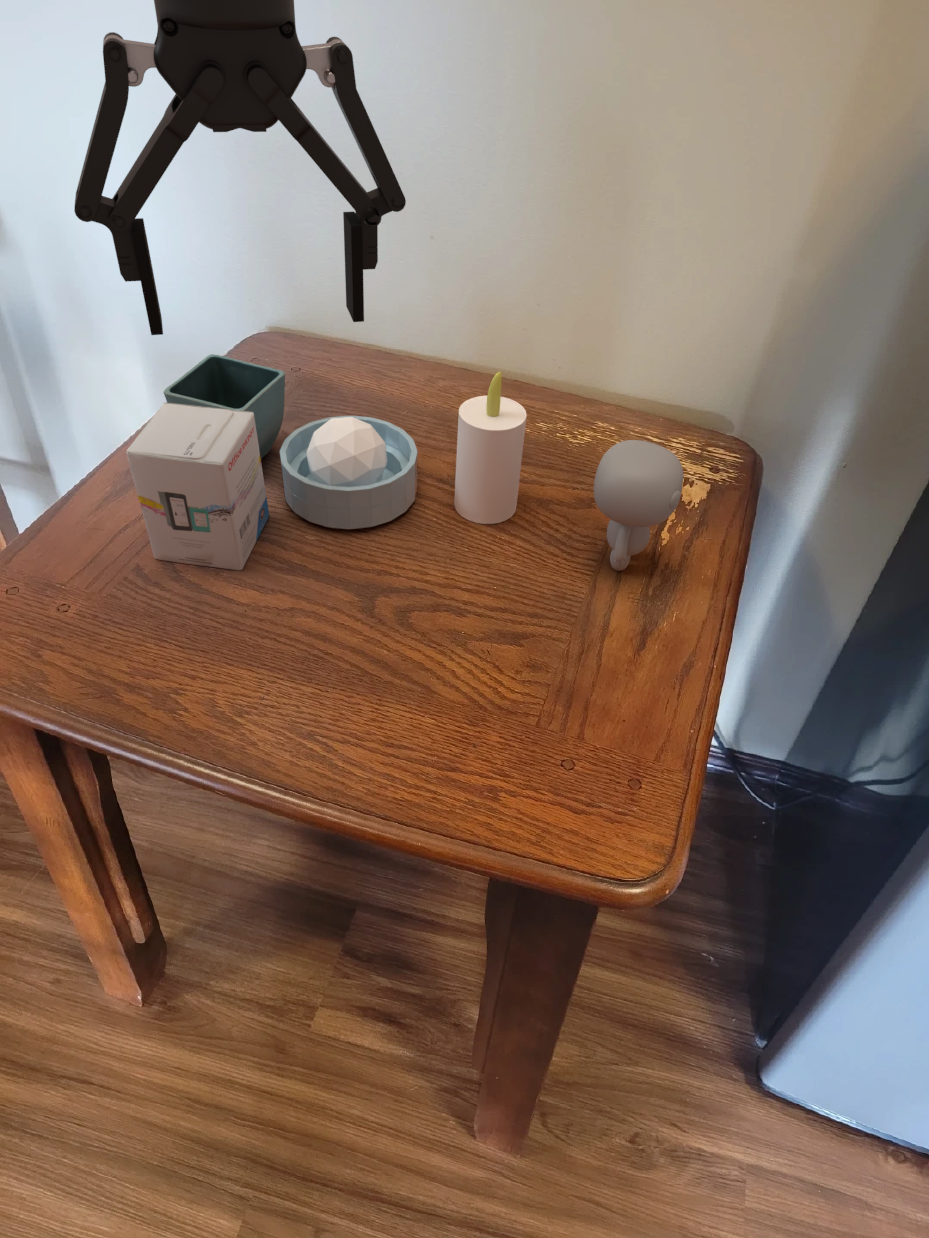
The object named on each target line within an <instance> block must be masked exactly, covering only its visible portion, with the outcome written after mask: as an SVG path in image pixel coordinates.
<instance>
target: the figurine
mask: <svg viewBox="0 0 929 1238" xmlns="http://www.w3.org/2000/svg"><path fill="white" fill-rule="evenodd" d="M684 475H685V474H684V469H683V464H682V463H681V461H680V458H678V456H677V455H676V454H675V453H674V452H672V451H671V450H669V449H667V448H666V447H664V446H662V445H659V444H657V443H654V442H652V441H651V442H650V441H646V440H641V439H627V440H623V441H619V442H617V443H615V444H613V445H612V446H611V447H610V448H609V449H607V450H606V451H605V453H604V454H603V456H602V458H601V459H600V461H599V464H598V465H597V468H596V471H595V476H594V480H593V499H594V502H595V505H596V507H597V508H598V510H599V511H600V512H601V513H602V515H604V516H605V517H606V518H608V519H609V522H608V524H607V528H606V540H607V543H608V545H609V547H610V548H611V551H610V554H609V555H610V556H609V561H610V565H611V568H612V569H613V570H614V571H618V572H621V571H624V570H625V569H626V568H628V566H629V563H630V561H631V556H634V555H638V554H640V553H641V552H643V551H644V550H645V549H646V548H647V546H648V545H649V542H650V539H651V529H650V527H655V526H657V525H660V524H662V523H663V522H665V521H666V520H668V519H669V518H670V517H671V516H672V514H673V513H674V512H675V511H676V509H677V508H678V505H679V503H680V499H681V497H682V492H683V484H684Z"/></svg>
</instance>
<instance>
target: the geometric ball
mask: <svg viewBox="0 0 929 1238" xmlns="http://www.w3.org/2000/svg"><path fill="white" fill-rule="evenodd" d="M306 455H307V460H308V465H309V470H310V473H311V474H312V476H313V477H314V478H315V480H316V481H317V482H318V483H321V484H324V485H329V486H341V487H355V486H365V485H371V484H374V483H377V482H381V479H382V476H383V473H384V470H385V467H386V464H387V462H388V461H387V453H386V445H385V442H384V441H383V439H382V438H381V437H380V435H379V434H378V433H377V432H376V430H375V429H374V428H373V427H372V425H370V424H368V423H366V422H363V421H361V420H358V419H356V418H353V417H344V418H331V419H330V420H329V421H327V422H326V423H325V424H324V425H322V426H321V427H320V428H318V429H317V430H316V431H315V432H314V433H313V436H312V438H311V441H310V444H309V447H308V450H307V453H306Z"/></svg>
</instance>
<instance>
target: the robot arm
mask: <svg viewBox="0 0 929 1238" xmlns="http://www.w3.org/2000/svg"><path fill="white" fill-rule="evenodd" d="M153 3H154V10H155V17H156V23H157V24H156V25H157V33H156V37H155V40H154V42H153V43H150V42H144V41H137V40H129V39H124V38H123V36H121V35H120V34H119V33H118V32H115V31H110V32H107V33H106V34H105V35H104V37H103V42H102V56H103V57H102V58H103V68H104V70H103V71H104V80H105V81H104V85H103V87H102V92H101V96H100V100H99V103H98V107H97V111H96V115H95V119H94V123H93V127H92V130H91V134H90V138H89V142H88V146H87V150H86V153H85V157H84V160H83V164H82V168H81V172H80V177H79V180H78V183H77V187H76V192H75V198H74V214H75V216H76V218H77V219H79V220H80V221H81V222H85V223H89V222H90V223H91V222H93V223H97V224H100V225H103V226H105V227H106V228H107V229H108V230H109V231H110V233H111V236H112V241H113V245H114V250H115V255H116V259H117V264H118V269H119V273H120V276H121V278H123V280H124V282H126V283H127V282H140V285H141V290H142V294H143V300H144V305H145V311H146V315H147V320H148V325H149V330H150V335H151V336H161V335H164V330H163V327H164V326H163V318H162V313H161V307H160V301H159V297H158V296H159V295H158V290H157V285H156V279H155V274H154V269H153V264H152V257H151V253H150V248H149V242H148V237H147V236H148V235H147V232H146V226H145V220H144V218H143V217H140V218H139V217H138V218H137V216H138V215H139V214H140V211H141V210H142V208H143V207H144V205H145V204H146V202H147V201H148V199H149V197H150V196H151V194H152V193H153V191H154V190H155V188H156V186H157V185H158V183H159V182H160V180H161V179H162V177H163V175H164V174H165V173H166V171H167V169H168V168H169V166H170V165H171V164H172V161H173V160H174V158H175V157H176V156H177V154H178V152H179V151H180V149H181V148H182V146H183V145H184V143H185V142H187V141H188V140H189V138H190V137H191V135H192V133H193V132H194V130H195V129H196V127H198V124H200V125H202V126H203V127H205V128H207V129H209V130H212V132H213V133H229V132H232V131H235V130H238V129H241V130H246V131H249V132H253V133H267V129H270V128H272V127H273V126H275V125H276V124H277V123H278V122H280V124H281V125H282V126H283V127H284V128H285V130H287V132H288V133H289V134H290V135H291V137H292V138H293V139H294V140H295V141H296V142H297V143H298V144H299V145H300V147H301V148H302V149H303V150H304V151H305V152H306V154H307V155H308V156H309V157H310V158H311V160H312V161H313V162H314V163H315V164H316V165H317V167H318V168H319V169H320V171H322V173H323V174H324V175H325V177H326V178H327V179H328V180H329V181H330V182H331V184H332V185H333V186H334V187H335V189H336V190H337V191H338V192H339V193H340V194H341V195H342V197H343V198H344V199H345V200H346V202H347V203H348V204H349V205H350V206H351V207H352V209H353V210H354V211H343V212H342V215H343V238H344V239H343V244H344V245H343V248H344V249H343V250H344V275H345V276H344V279H345V305H346V306H345V307H346V309H347V311H348V313H349V315H350V317H351V320H352V322H353V323H361V322H362V323H363V322H365V300H364V299H365V298H364V296H365V295H364V293H365V292H364V270H376V267H377V265H378V262H379V253H378V252H379V251H378V250H379V249H378V248H379V247H378V246H379V244H378V243H379V242H378V240H379V239H378V235H379V234H378V233H379V230H378V227H379V225H380V223H381V222H382V218H383V216H385V215H386V214H389V213H391V212H396V213H399V212H401V211H402V210H404V209H405V206H406V201H407V200H406V197H405V194H404V192H403V190H402V187H401V185H400V183H399V181H398V178H397V176H396V174H395V172H394V170H393V167H392V165H391V163H390V161H389V159H388V157H387V154H386V152H385V149H384V148H383V145H382V142H381V141H380V138H379V136H378V134H377V132H376V130H375V127H374V125H373V122H372V121H371V119H370V116H369V114H368V112H367V109H366V107H365V104H364V102H363V100H362V98H361V96H360V93H359V92H358V89H357V83H356V74H355V65H354V58H353V53H352V50H351V49H350V47H349V46H348V45H347V44H346V43H345V42H344V41H343V39H341V38H340V37H338V36H331V37H329V38H328V39H327V40H326V41H325V43H318V44H309V45H301V41H300V39H299V37H298V32H297V27H296V13H295V0H153ZM151 68H152V69H156V70H157V72H158V74H159V75H160V76H161V77H162V79H163V80H164V82H166V84H167V85H168V86H169V87H170V89H171V90H172V91H173V92H174V96H173V97H172V99H171V101H170V102H169V103H168V105H167V107H166V109H165V111H164V113H163V116H162V117H161V119H160V121H159V123H158V125H156V128H154V131H153V132H152V133H151V135H150V137H149V139H148V140H147V142H146V143H145V145H144V146H143V148H142V150H141V151H140V153H139V155H138V156H137V158H136V160H134V163H133V164H132V166H131V168H130V169H129V171H128V172H127V174H126V176H125V177H124V179H123V181H122V182H121V183H120V185H119V187H118V189H117V190H116V192H115V193H114V195H113V196H112V198H111V197H108V196H104V195H103V192H104V189H105V185H106V182H107V178H108V174H109V171H110V167H111V164H112V160H113V157H114V154H115V153H114V152H115V149H116V147H117V146H116V145H117V142H118V138H119V136H120V132H121V129H122V124H123V121H124V117H125V114H126V110H127V106H128V100H129V94H130V93H129V92H130V87H134V88H135V87H139V86H140V85H141V84H142V83H143V80H144V77H145V73H146V72H147V71H148V70H149V69H151ZM307 70H311V71H313V72H315V74H316V76H317V78H318V81H319V82H320V83H321V85H323V86H324V87H326V88H331V91H332V92H333V95H334V97H335V100H336V102H337V105H338V107H339V108H340V111H341V113H342V115H343V117H344V120H345V121H346V123H347V125H348V128H349V130H350V133H351V134H352V137H353V138H354V140H355V143H356V145H357V147H358V150H359V151H360V154H361V156H362V157H363V159H364V163H365V164H366V167H367V168H368V171H369V172H370V175H371V177H372V179H373V181H374V184H375V186H376V188H374V189H371V190H370V191H367V190H366V189H365V187H363V185H362V184H361V183H360V182H359V180H358V178H356V177H355V176H354V174H353V173H352V171H350V169H349V168H348V167H347V166H346V164H345V163H344V162H343V161H342V160H341V158H340V157H339V156H338V155H337V153H336V152H335V151H334V149H332V147H331V146H330V145H329V144H328V142H327V140H325V138H324V137H323V136H322V134H320V132H319V131H318V130H317V128H316V127H315V126H314V125H313V123H312V122H311V121H310V120H309V119H308V117H307V116H306V115H305V114H304V112H303V111H302V109H301V108H300V107H299V106H298V105H297V103H296V102H295V101H294V100H293V96H294V94H295V92H296V90H297V89H298V87H299V85H300V83H301V82H302V81H303V79H304V76H305V74H306V72H307Z"/></svg>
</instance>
